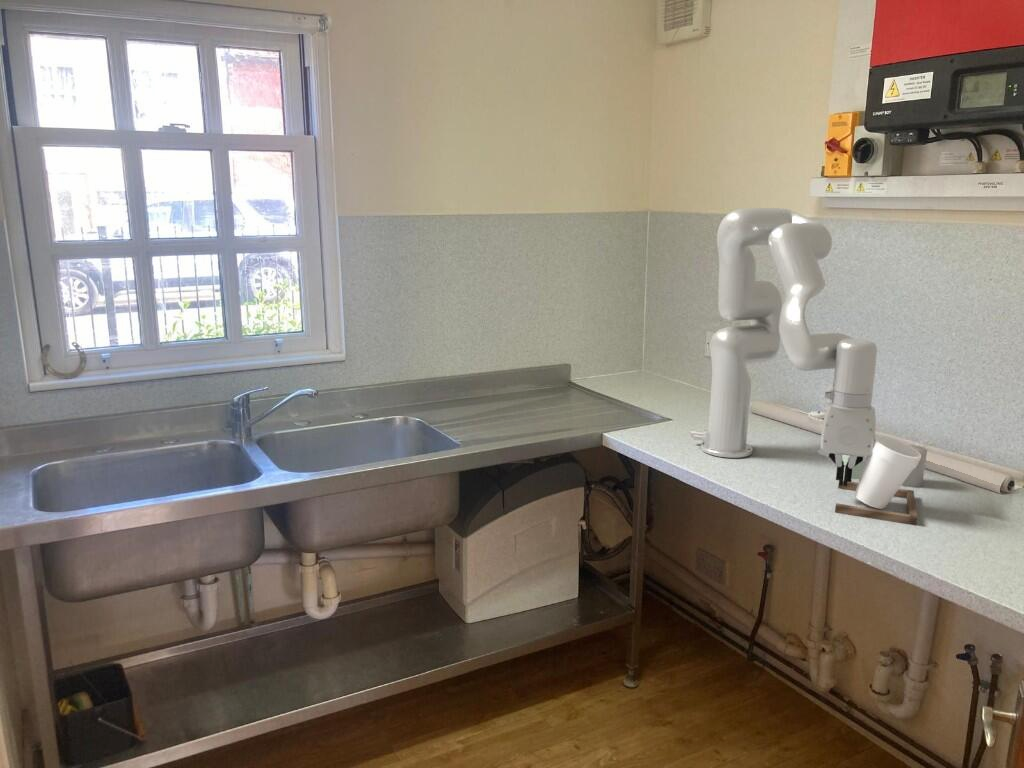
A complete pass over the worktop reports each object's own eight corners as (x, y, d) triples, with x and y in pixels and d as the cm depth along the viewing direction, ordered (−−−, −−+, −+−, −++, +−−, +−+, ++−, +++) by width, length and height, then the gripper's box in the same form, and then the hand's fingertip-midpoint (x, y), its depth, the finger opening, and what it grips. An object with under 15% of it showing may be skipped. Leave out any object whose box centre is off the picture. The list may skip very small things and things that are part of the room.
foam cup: (861, 508, 158) (890, 453, 153) (839, 484, 166) (865, 431, 161) (901, 516, 160) (931, 461, 155) (877, 492, 168) (904, 440, 163)
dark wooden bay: (834, 512, 159) (835, 505, 158) (838, 486, 173) (839, 479, 173) (916, 525, 153) (917, 517, 152) (912, 497, 167) (913, 490, 167)
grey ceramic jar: (893, 484, 175) (897, 450, 173) (892, 476, 180) (896, 443, 178) (923, 488, 172) (927, 454, 170) (921, 480, 178) (926, 446, 176)
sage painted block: (845, 478, 179) (848, 457, 177) (840, 470, 183) (843, 450, 182) (868, 479, 178) (871, 459, 177) (863, 472, 183) (865, 452, 181)
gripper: (811, 399, 160) (804, 484, 164) (892, 407, 154) (882, 495, 158) (814, 392, 167) (806, 473, 171) (891, 399, 161) (882, 483, 165)
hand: (843, 483), depth 164 cm, fingers closed
